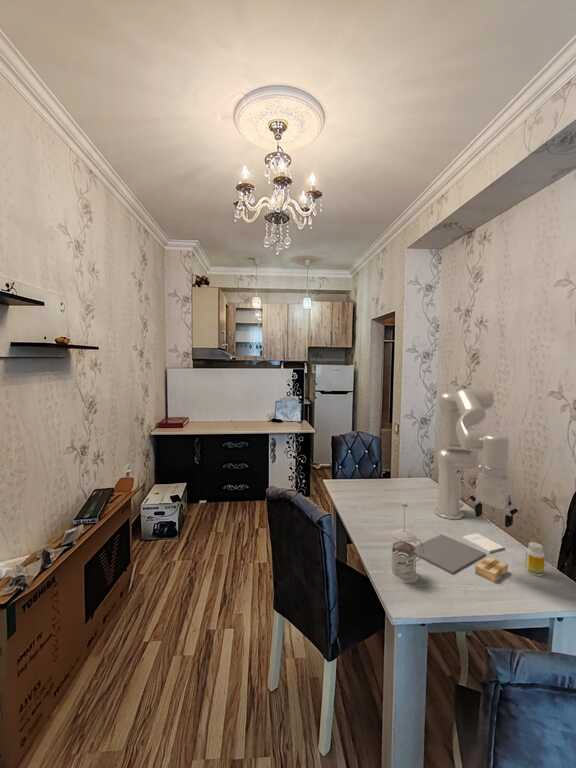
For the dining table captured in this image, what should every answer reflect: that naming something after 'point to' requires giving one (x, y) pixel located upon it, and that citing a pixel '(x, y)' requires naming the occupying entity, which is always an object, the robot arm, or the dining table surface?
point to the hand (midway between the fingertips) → (493, 520)
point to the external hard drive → (483, 543)
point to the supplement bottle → (535, 559)
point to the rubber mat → (448, 553)
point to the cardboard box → (491, 569)
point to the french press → (401, 568)
